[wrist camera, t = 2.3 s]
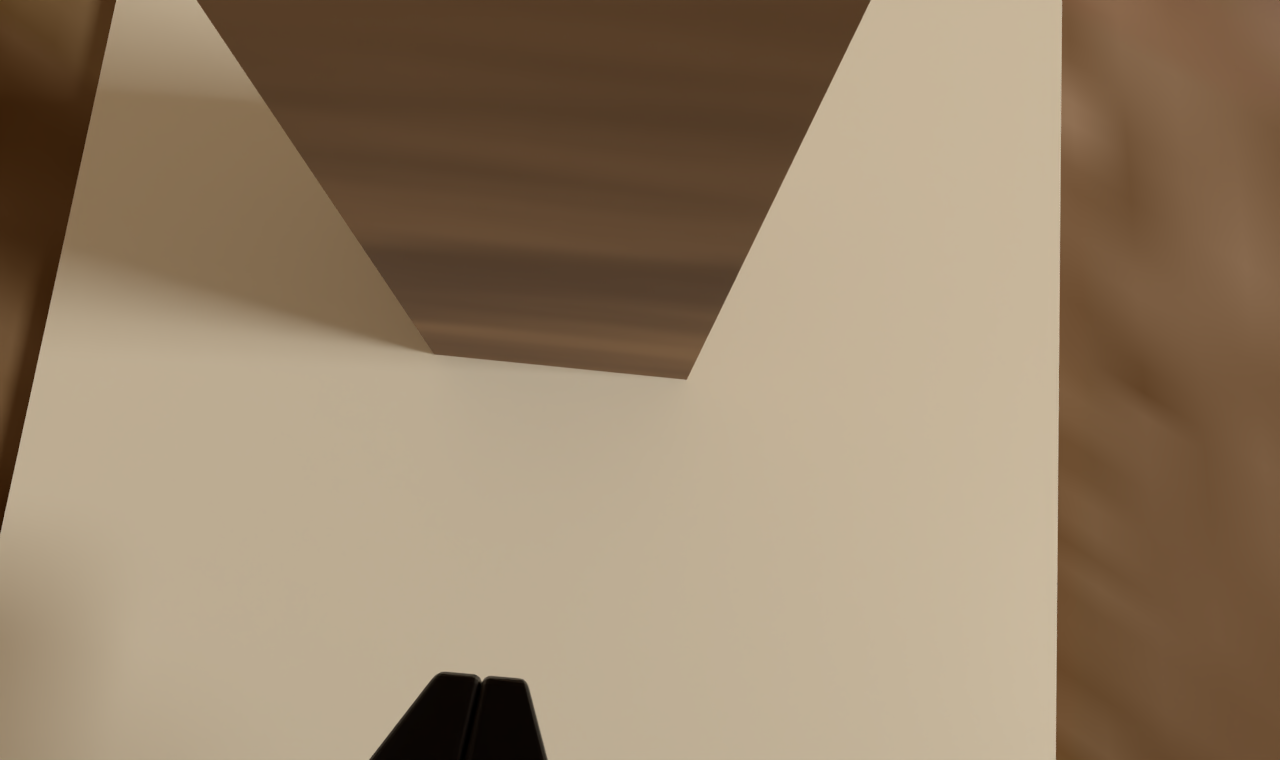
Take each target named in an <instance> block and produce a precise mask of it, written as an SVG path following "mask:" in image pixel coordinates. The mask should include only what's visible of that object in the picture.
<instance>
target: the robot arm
mask: <svg viewBox="0 0 1280 760" xmlns="http://www.w3.org/2000/svg"><path fill="white" fill-rule="evenodd" d="M369 760H548V759H547V755H546V751H545V747H544V743H543V739H542V736H541V732H540V728H539V724H538V720H537V716H536V712H535V709H534V705H533V701H532V697H531V693H530V689H529V686H528V684H527V682H526V681H525V680H523V679H521V678H512V677H501V676H488V677H486V678H484V680H483V681H481V678H480V677H479V676H478V675H475V674H467V673H456V672H440V673H438V674H436V675H435V676H434V677H433V678H432V679H431V680H430V682H429V683H428V684H427V685H426V687H425V688H424V689H423V691H422V692H421V693H420V694H419V696H418V697H417V698H416V700H415V701H414V702H413V704H412V705H411V706H410V707H409V709H408V710H407V711H406V713H405V714H404V715H403V716H402V718H401V719H400V720H399V722H398V723H397V724H396V725H395V727H394V728H393V729H392V731H391V732H390V733H389V734H388V736H387V737H386V738H385V740H384V741H383V742H382V743H381V745H380V746H379V747H378V749H377V750H376V751H375V753H374V754H373V755H372V756H371V758H370V759H369Z"/></svg>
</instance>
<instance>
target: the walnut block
mask: <svg viewBox="0 0 1280 760" xmlns="http://www.w3.org/2000/svg"><path fill="white" fill-rule="evenodd" d="M870 1H871V0H197V2H198V3H199V5H200V6H201V8H202V9H203V11H204V12H205V14H206V15H207V17H208V18H209V20H210V21H211V23H212V24H213V26H214V27H215V29H216V30H217V32H218V33H219V35H220V36H221V38H222V39H223V41H224V42H225V43H226V45H227V46H228V48H229V49H230V51H231V52H232V54H233V55H234V57H235V58H236V60H237V61H238V63H239V64H240V66H241V67H242V69H243V70H244V72H245V73H246V75H247V76H248V78H249V79H250V81H251V82H252V84H253V85H254V87H255V88H256V90H257V91H258V93H259V94H260V96H261V97H262V99H263V100H264V102H265V103H266V105H267V106H268V108H269V109H270V111H271V112H272V114H273V115H274V117H275V118H276V119H277V121H278V122H279V124H280V125H281V127H282V128H283V130H284V131H285V133H286V134H287V136H288V137H289V139H290V140H291V142H292V143H293V145H294V146H295V148H296V149H297V151H298V152H299V154H300V155H301V157H302V158H303V160H304V161H305V163H306V164H307V166H308V167H309V169H310V170H311V172H312V173H313V175H314V176H315V178H316V179H317V181H318V182H319V184H320V185H321V187H322V188H323V190H324V191H325V192H326V194H327V195H328V197H329V198H330V200H331V201H332V203H333V204H334V206H335V207H336V209H337V210H338V212H339V213H340V215H341V216H342V218H343V219H344V221H345V222H346V224H347V225H348V227H349V228H350V230H351V231H352V233H353V234H354V236H355V237H356V239H357V240H358V242H359V243H360V245H361V246H362V248H363V249H364V251H365V252H366V254H367V255H368V257H369V258H370V260H371V261H372V263H373V264H374V266H375V267H376V268H377V270H378V271H379V273H380V274H381V276H382V277H383V279H384V280H385V282H386V283H387V285H388V286H389V288H390V289H391V291H392V292H393V294H394V295H395V297H396V298H397V300H398V301H399V303H400V304H401V306H402V307H403V309H404V310H405V312H406V313H407V315H408V316H409V318H410V319H411V321H412V322H413V324H414V325H415V327H416V328H417V330H418V331H419V333H420V334H421V336H422V337H423V339H424V340H425V342H426V343H427V344H428V346H429V347H430V349H431V350H432V352H433V353H434V354H435V355H445V356H455V357H465V358H475V359H485V360H495V361H505V362H515V363H525V364H535V365H545V366H555V367H565V368H575V369H584V370H594V371H604V372H614V373H624V374H634V375H644V376H654V377H664V378H674V379H684V380H687V378H688V376H689V374H690V372H691V370H692V368H693V366H694V364H695V362H696V360H697V358H698V356H699V354H700V352H701V349H702V347H703V345H704V343H705V341H706V339H707V337H708V335H709V333H710V331H711V329H712V327H713V325H714V323H715V321H716V319H717V316H718V314H719V312H720V310H721V308H722V306H723V304H724V302H725V300H726V298H727V296H728V294H729V292H730V290H731V288H732V286H733V283H734V281H735V279H736V277H737V275H738V273H739V271H740V269H741V267H742V265H743V263H744V261H745V259H746V257H747V255H748V253H749V250H750V248H751V246H752V244H753V242H754V240H755V238H756V236H757V234H758V232H759V230H760V228H761V226H762V224H763V222H764V220H765V218H766V215H767V213H768V211H769V209H770V207H771V205H772V203H773V201H774V199H775V197H776V195H777V193H778V191H779V189H780V187H781V185H782V182H783V180H784V178H785V176H786V174H787V172H788V170H789V168H790V166H791V164H792V162H793V160H794V158H795V156H796V154H797V152H798V149H799V147H800V145H801V143H802V141H803V139H804V137H805V135H806V133H807V131H808V129H809V127H810V125H811V123H812V121H813V119H814V116H815V114H816V112H817V110H818V108H819V106H820V104H821V102H822V100H823V98H824V96H825V94H826V92H827V90H828V88H829V86H830V83H831V81H832V79H833V77H834V75H835V73H836V71H837V69H838V67H839V65H840V63H841V61H842V59H843V57H844V55H845V53H846V50H847V48H848V46H849V44H850V42H851V40H852V38H853V36H854V34H855V32H856V30H857V28H858V26H859V24H860V22H861V20H862V18H863V15H864V13H865V11H866V9H867V7H868V5H869V3H870Z"/></svg>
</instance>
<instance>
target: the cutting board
mask: <svg viewBox="0 0 1280 760" xmlns="http://www.w3.org/2000/svg"><path fill="white" fill-rule="evenodd" d="M1061 55H1062V0H871V1H870V3H869V5H868V7H867V9H866V11H865V13H864V15H863V18H862V20H861V22H860V24H859V26H858V28H857V30H856V32H855V34H854V36H853V38H852V40H851V42H850V44H849V46H848V48H847V50H846V53H845V55H844V57H843V59H842V61H841V63H840V65H839V67H838V69H837V71H836V73H835V75H834V77H833V79H832V81H831V83H830V86H829V88H828V90H827V92H826V94H825V96H824V98H823V100H822V102H821V104H820V106H819V108H818V110H817V112H816V114H815V116H814V119H813V121H812V123H811V125H810V127H809V129H808V131H807V133H806V135H805V137H804V139H803V141H802V143H801V145H800V147H799V149H798V152H797V154H796V156H795V158H794V160H793V162H792V164H791V166H790V168H789V170H788V172H787V174H786V176H785V178H784V180H783V182H782V185H781V187H780V189H779V191H778V193H777V195H776V197H775V199H774V201H773V203H772V205H771V207H770V209H769V211H768V213H767V215H766V218H765V220H764V222H763V224H762V226H761V228H760V230H759V232H758V234H757V236H756V238H755V240H754V242H753V244H752V246H751V248H750V250H749V253H748V255H747V257H746V259H745V261H744V263H743V265H742V267H741V269H740V271H739V273H738V275H737V277H736V279H735V281H734V283H733V286H732V288H731V290H730V292H729V294H728V296H727V298H726V300H725V302H724V304H723V306H722V308H721V310H720V312H719V314H718V316H717V319H716V321H715V323H714V325H713V327H712V329H711V331H710V333H709V335H708V337H707V339H706V341H705V343H704V345H703V347H702V349H701V352H700V354H699V356H698V358H697V360H696V362H695V364H694V366H693V368H692V370H691V372H690V374H689V376H688V378H687V380H684V379H674V378H664V377H654V376H644V375H634V374H624V373H614V372H604V371H594V370H584V369H575V368H565V367H555V366H545V365H535V364H525V363H515V362H505V361H495V360H485V359H475V358H465V357H455V356H445V355H435V354H434V353H433V352H432V350H431V349H430V347H429V346H428V344H427V343H426V342H425V340H424V339H423V337H422V336H421V334H420V333H419V331H418V330H417V328H416V327H415V325H414V324H413V322H412V321H411V319H410V318H409V316H408V315H407V313H406V312H405V310H404V309H403V307H402V306H401V304H400V303H399V301H398V300H397V298H396V297H395V295H394V294H393V292H392V291H391V289H390V288H389V286H388V285H387V283H386V282H385V280H384V279H383V277H382V276H381V274H380V273H379V271H378V270H377V268H376V267H375V266H374V264H373V263H372V261H371V260H370V258H369V257H368V255H367V254H366V252H365V251H364V249H363V248H362V246H361V245H360V243H359V242H358V240H357V239H356V237H355V236H354V234H353V233H352V231H351V230H350V228H349V227H348V225H347V224H346V222H345V221H344V219H343V218H342V216H341V215H340V213H339V212H338V210H337V209H336V207H335V206H334V204H333V203H332V201H331V200H330V198H329V197H328V195H327V194H326V192H325V191H324V190H323V188H322V187H321V185H320V184H319V182H318V181H317V179H316V178H315V176H314V175H313V173H312V172H311V170H310V169H309V167H308V166H307V164H306V163H305V161H304V160H303V158H302V157H301V155H300V154H299V152H298V151H297V149H296V148H295V146H294V145H293V143H292V142H291V140H290V139H289V137H288V136H287V134H286V133H285V131H284V130H283V128H282V127H281V125H280V124H279V122H278V121H277V119H276V118H275V117H274V115H273V114H272V112H271V111H270V109H269V108H268V106H267V105H266V103H265V102H264V100H263V99H262V97H261V96H260V94H259V93H258V91H257V90H256V88H255V87H254V85H253V84H252V82H251V81H250V79H249V78H248V76H247V75H246V73H245V72H244V70H243V69H242V67H241V66H240V64H239V63H238V61H237V60H236V58H235V57H234V55H233V54H232V52H231V51H230V49H229V48H228V46H227V45H226V43H225V42H224V41H223V39H222V38H221V36H220V35H219V33H218V32H217V30H216V29H215V27H214V26H213V24H212V23H211V21H210V20H209V18H208V17H207V15H206V14H205V12H204V11H203V9H202V8H201V6H200V5H199V3H198V2H197V0H116V4H115V8H114V13H113V17H112V22H111V27H110V31H109V36H108V40H107V45H106V50H105V54H104V59H103V63H102V68H101V73H100V77H99V82H98V87H97V91H96V96H95V100H94V105H93V110H92V114H91V119H90V123H89V128H88V133H87V137H86V142H85V146H84V151H83V156H82V160H81V165H80V169H79V174H78V179H77V183H76V188H75V192H74V197H73V202H72V206H71V211H70V215H69V220H68V225H67V229H66V234H65V238H64V243H63V248H62V252H61V257H60V261H59V266H58V271H57V275H56V280H55V284H54V289H53V294H52V298H51V303H50V307H49V312H48V317H47V321H46V326H45V330H44V335H43V340H42V344H41V349H40V353H39V358H38V363H37V367H36V372H35V376H34V381H33V386H32V390H31V395H30V399H29V404H28V409H27V413H26V418H25V422H24V427H23V432H22V436H21V441H20V445H19V450H18V455H17V459H16V464H15V468H14V473H13V478H12V482H11V487H10V491H9V496H8V501H7V505H6V510H5V514H4V519H3V524H2V528H1V533H0V760H369V759H370V758H371V756H372V755H373V754H374V753H375V751H376V750H377V749H378V747H379V746H380V745H381V743H382V742H383V741H384V740H385V738H386V737H387V736H388V734H389V733H390V732H391V731H392V729H393V728H394V727H395V725H396V724H397V723H398V722H399V720H400V719H401V718H402V716H403V715H404V714H405V713H406V711H407V710H408V709H409V707H410V706H411V705H412V704H413V702H414V701H415V700H416V698H417V697H418V696H419V694H420V693H421V692H422V691H423V689H424V688H425V687H426V685H427V684H428V683H429V682H430V680H431V679H432V678H433V677H434V676H435V675H436V674H438V673H440V672H456V673H467V674H475V675H478V676H479V677H480V678H481V681H483V680H484V678H486V677H488V676H501V677H512V678H521V679H523V680H525V681H526V682H527V684H528V686H529V689H530V693H531V697H532V701H533V705H534V709H535V712H536V716H537V720H538V724H539V728H540V732H541V736H542V739H543V743H544V747H545V751H546V755H547V759H548V760H1056V654H1057V534H1058V414H1059V295H1060V175H1061Z"/></svg>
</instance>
